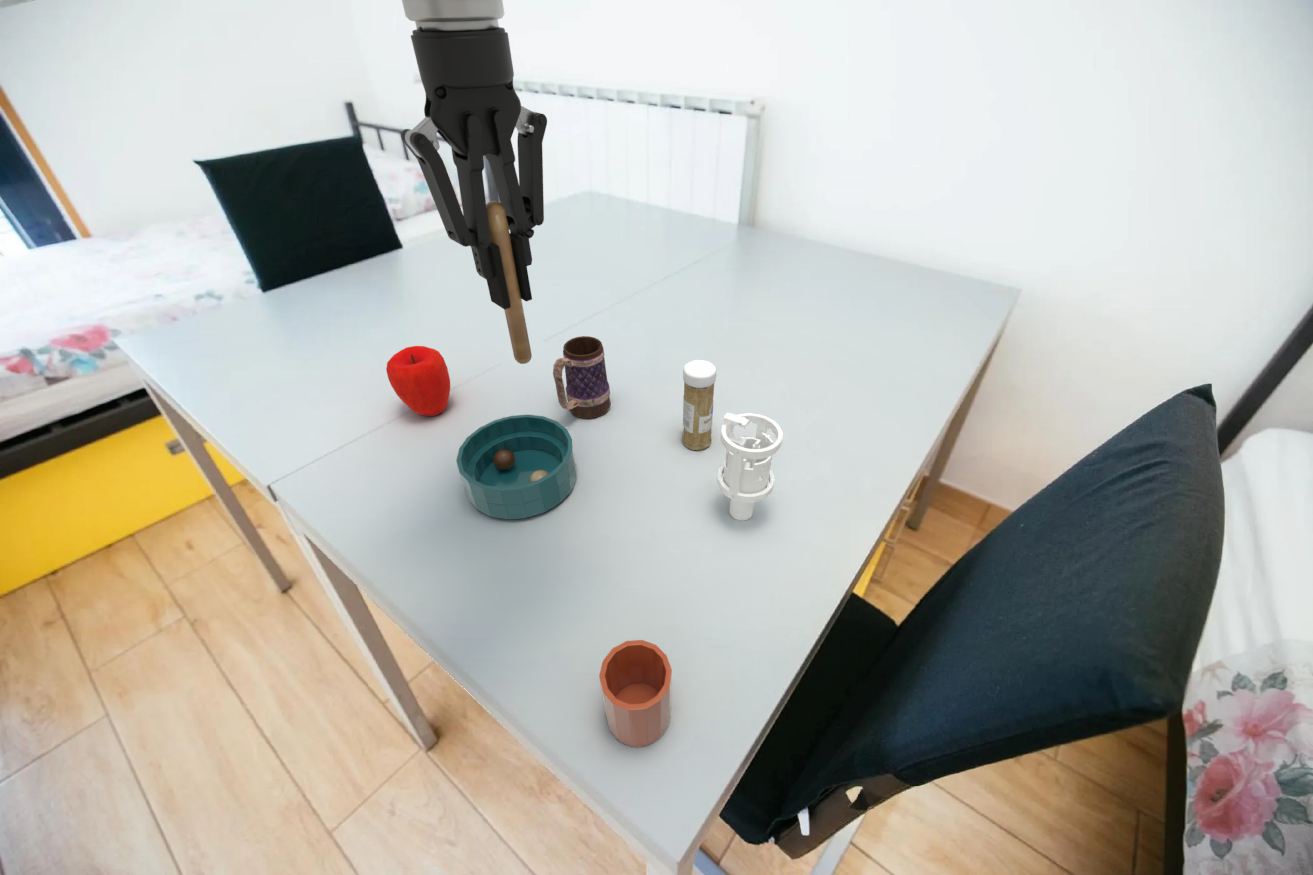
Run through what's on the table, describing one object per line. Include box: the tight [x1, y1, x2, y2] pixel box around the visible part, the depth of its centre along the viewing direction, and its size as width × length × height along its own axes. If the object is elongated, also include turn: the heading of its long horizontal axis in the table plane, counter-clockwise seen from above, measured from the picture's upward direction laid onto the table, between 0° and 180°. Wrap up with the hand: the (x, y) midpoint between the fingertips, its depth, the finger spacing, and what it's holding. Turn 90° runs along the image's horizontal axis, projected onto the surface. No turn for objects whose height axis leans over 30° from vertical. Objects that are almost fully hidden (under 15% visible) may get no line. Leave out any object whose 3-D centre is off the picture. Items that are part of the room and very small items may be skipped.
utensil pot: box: [598, 639, 673, 748], centre depth 50 cm, size 6×6×8 cm
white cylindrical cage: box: [716, 412, 784, 522], centre depth 67 cm, size 7×7×15 cm
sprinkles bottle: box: [681, 359, 717, 451], centre depth 78 cm, size 5×5×13 cm
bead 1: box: [493, 449, 515, 470], centre depth 77 cm, size 3×3×3 cm
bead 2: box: [529, 470, 549, 483], centre depth 74 cm, size 3×3×3 cm
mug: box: [552, 335, 611, 419], centre depth 85 cm, size 10×7×12 cm
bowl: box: [456, 414, 577, 520], centre depth 75 cm, size 15×15×6 cm
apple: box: [386, 345, 451, 417], centre depth 86 cm, size 9×9×11 cm
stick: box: [486, 200, 533, 365], centre depth 57 cm, size 2×2×18 cm
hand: (511, 299), depth 58 cm, fingers closed on stick, 2 cm apart
